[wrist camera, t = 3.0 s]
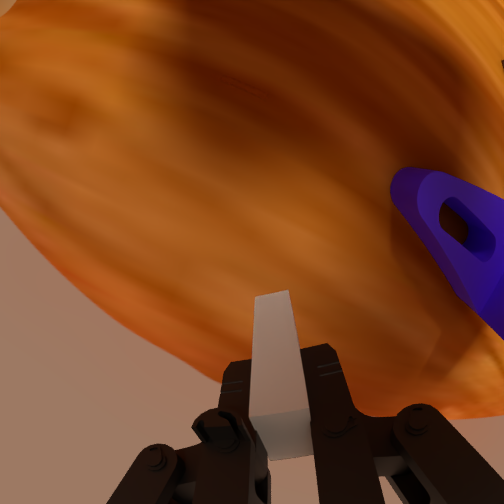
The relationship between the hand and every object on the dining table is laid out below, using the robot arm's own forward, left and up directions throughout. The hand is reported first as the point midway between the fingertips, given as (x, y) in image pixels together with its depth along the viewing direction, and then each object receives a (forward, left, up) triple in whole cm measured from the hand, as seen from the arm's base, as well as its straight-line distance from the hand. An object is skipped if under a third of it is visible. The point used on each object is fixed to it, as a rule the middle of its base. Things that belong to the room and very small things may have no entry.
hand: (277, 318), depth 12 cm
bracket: (+2, +18, -9) cm, 20 cm away
